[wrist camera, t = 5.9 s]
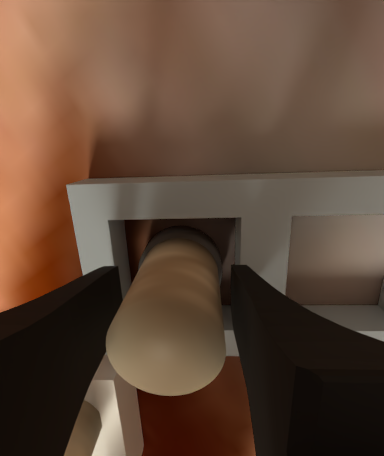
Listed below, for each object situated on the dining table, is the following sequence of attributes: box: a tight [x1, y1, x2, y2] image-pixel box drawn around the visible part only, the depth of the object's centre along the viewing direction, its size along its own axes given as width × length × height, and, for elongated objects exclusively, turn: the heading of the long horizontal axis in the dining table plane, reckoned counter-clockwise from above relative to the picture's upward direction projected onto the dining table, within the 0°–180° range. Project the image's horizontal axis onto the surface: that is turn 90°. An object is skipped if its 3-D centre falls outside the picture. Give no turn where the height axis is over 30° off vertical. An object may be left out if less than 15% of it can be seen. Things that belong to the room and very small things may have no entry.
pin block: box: [66, 170, 384, 356], centre depth 12 cm, size 8×16×2 cm, turn 92°
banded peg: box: [106, 226, 226, 396], centre depth 10 cm, size 4×4×6 cm
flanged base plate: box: [84, 355, 144, 456], centre depth 15 cm, size 9×14×3 cm, turn 92°
